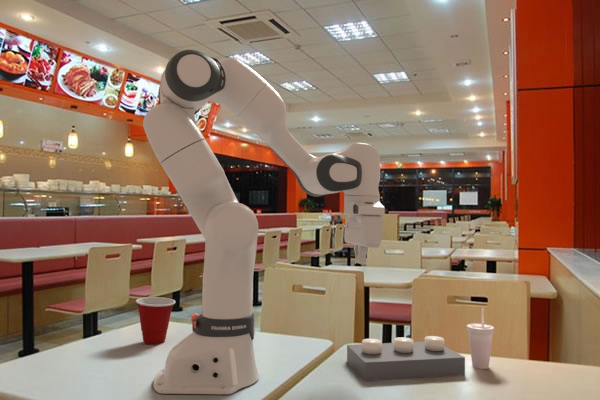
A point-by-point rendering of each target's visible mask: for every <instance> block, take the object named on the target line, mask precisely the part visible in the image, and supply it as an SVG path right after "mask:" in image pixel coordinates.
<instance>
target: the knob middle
mask: <svg viewBox="0 0 600 400" xmlns="http://www.w3.org/2000/svg"><path fill="white" fill-rule="evenodd" d="M413 342H414V339H412V338H410V337H405V336H402V337H398V336H397V337H395V338H393V343H394V350H395V351H397V352H399V353H410V352H413Z"/></svg>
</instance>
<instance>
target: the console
mask: <svg viewBox="0 0 600 400" xmlns="http://www.w3.org/2000/svg"><path fill="white" fill-rule="evenodd" d="M347 361H348V362H349V363H350V364H351V365H350V364H349V363H348V362H347ZM346 362H347V363H348V364H349V365H350V367H352V368H353V369H354V370H355V372H356V373H357V372H358V373H357V374H358V375H359V376H360V377H361V379H362V380H364V381H365V382H366V381H367V382H368V381H369V382H370V381H386V380H402V379H417V378H436V377H451V376H452V377H453V376H466V357H465V356H464V355H461V354H460V353H458V352H457V351H456V350H455V351H454V350H452V349H451V348H449V347H447V346H445V345H444V350H443V351H435V352H431V351H430V350H427V349H425V341H413V352H410V353H399V352H397V351H395V350H394V342H385V343H382V352H381V353H380V354H372V355H368V354H366V353H363V352H362V343H361V344H347V345H346Z"/></svg>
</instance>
